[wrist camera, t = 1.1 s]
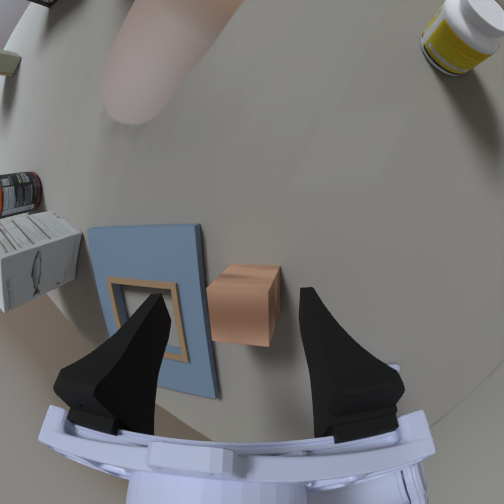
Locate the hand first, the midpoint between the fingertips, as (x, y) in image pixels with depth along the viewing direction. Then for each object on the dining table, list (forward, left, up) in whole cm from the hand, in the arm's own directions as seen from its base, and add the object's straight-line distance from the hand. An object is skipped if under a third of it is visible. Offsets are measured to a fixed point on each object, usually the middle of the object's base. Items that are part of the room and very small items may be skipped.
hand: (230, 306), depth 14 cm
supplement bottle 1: (+9, +34, -11) cm, 37 cm away
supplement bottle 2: (+20, -18, -11) cm, 29 cm away
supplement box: (+1, +27, -11) cm, 29 cm away
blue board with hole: (-7, +13, -11) cm, 19 cm away
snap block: (-3, +1, -11) cm, 11 cm away
